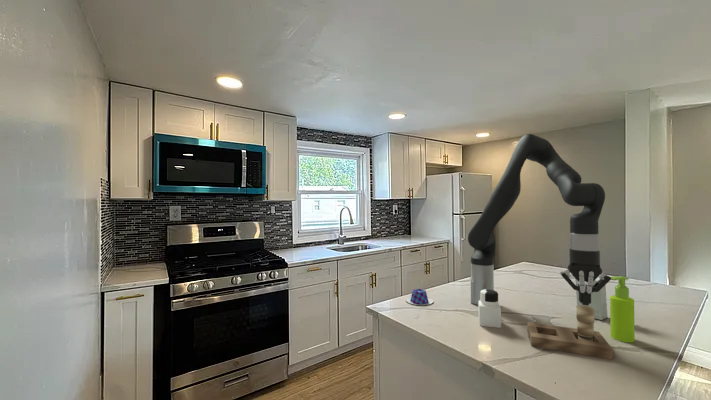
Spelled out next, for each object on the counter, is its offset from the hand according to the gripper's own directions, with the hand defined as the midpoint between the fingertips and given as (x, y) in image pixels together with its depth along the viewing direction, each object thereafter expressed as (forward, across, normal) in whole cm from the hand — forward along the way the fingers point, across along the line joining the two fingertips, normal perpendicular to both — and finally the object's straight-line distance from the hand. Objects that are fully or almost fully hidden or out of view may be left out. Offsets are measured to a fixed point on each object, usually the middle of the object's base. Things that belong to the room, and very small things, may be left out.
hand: (585, 304), depth 94 cm
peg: (+13, 0, 0) cm, 13 cm away
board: (+13, -5, 0) cm, 14 cm away
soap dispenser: (+13, +12, +11) cm, 21 cm away
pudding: (+13, -56, +23) cm, 62 cm away
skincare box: (+13, +9, +31) cm, 35 cm away
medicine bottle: (+13, -27, +8) cm, 31 cm away
